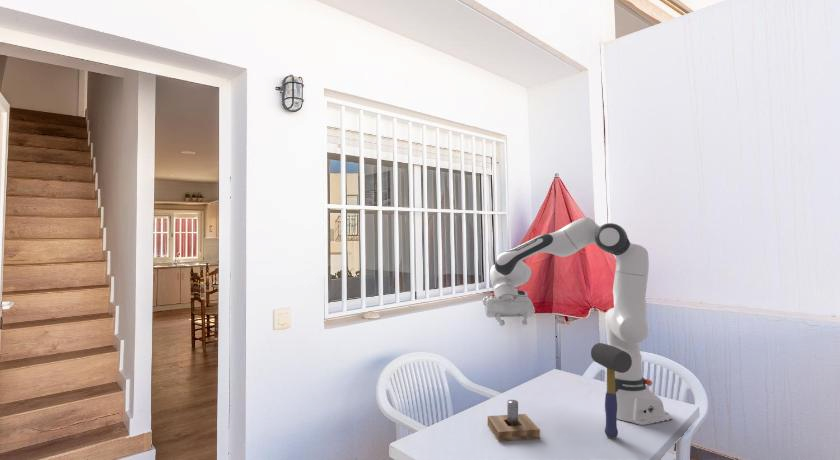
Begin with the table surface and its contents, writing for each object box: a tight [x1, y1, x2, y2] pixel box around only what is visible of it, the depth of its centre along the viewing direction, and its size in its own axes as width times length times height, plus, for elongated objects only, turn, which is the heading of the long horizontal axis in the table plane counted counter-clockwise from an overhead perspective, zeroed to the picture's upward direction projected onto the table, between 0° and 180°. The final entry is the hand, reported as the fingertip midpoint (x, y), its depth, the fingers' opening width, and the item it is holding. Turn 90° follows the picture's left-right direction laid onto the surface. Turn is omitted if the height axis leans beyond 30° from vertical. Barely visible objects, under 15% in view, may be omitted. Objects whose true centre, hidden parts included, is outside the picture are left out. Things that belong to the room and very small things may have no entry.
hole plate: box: [487, 413, 541, 442], centre depth 139 cm, size 14×12×3 cm
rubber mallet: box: [590, 342, 632, 439], centre depth 135 cm, size 12×8×30 cm, turn 14°
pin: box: [506, 399, 519, 426], centre depth 139 cm, size 4×4×10 cm
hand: (514, 324), depth 163 cm, fingers open, 8 cm apart
